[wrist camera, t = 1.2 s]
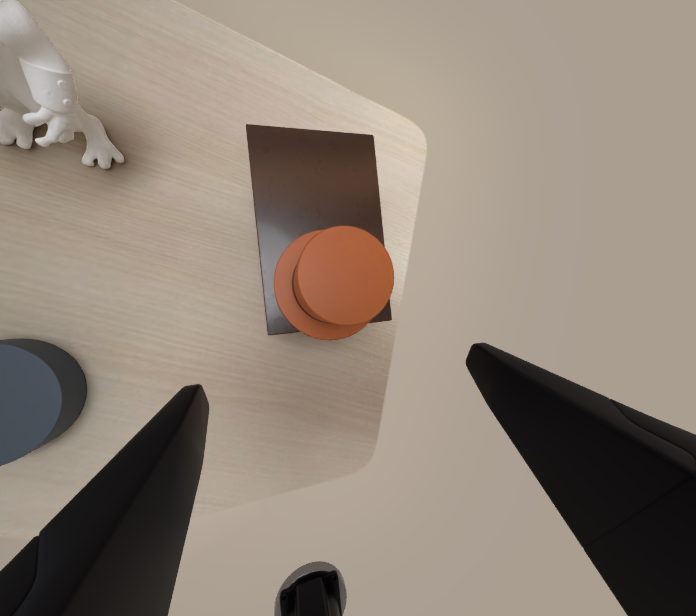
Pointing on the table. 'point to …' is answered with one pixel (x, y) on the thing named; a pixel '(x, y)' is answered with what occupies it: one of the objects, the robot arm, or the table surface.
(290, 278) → the orange top hat
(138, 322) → the table surface
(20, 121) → the figurine
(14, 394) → the stand
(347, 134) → the brown lidded box
